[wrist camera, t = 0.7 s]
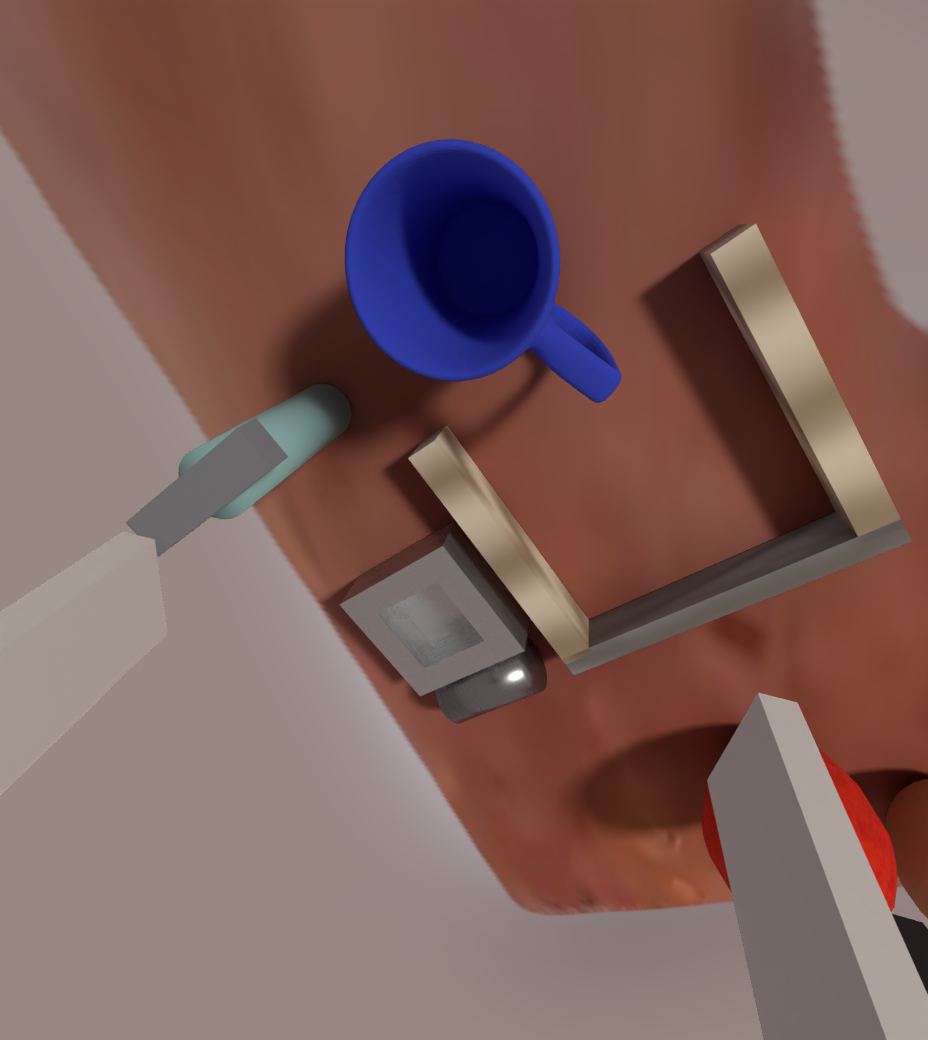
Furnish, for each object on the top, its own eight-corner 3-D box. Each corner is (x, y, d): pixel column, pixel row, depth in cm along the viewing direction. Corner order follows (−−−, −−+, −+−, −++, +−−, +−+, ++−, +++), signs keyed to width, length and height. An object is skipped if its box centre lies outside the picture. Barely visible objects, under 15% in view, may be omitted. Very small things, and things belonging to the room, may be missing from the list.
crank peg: (267, 422, 36) (113, 510, 25) (353, 350, 33) (224, 413, 21) (301, 463, 37) (169, 568, 25) (389, 397, 34) (283, 483, 22)
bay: (421, 441, 35) (408, 458, 32) (739, 224, 26) (755, 223, 24) (574, 646, 39) (573, 675, 37) (884, 515, 31) (911, 541, 29)
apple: (678, 782, 43) (707, 960, 33) (701, 687, 39) (744, 857, 28) (818, 804, 42) (897, 1000, 31) (859, 706, 37) (968, 896, 26)
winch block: (358, 576, 40) (336, 609, 37) (454, 520, 37) (440, 550, 33) (462, 699, 44) (451, 739, 40) (560, 658, 40) (557, 698, 37)
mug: (559, 411, 32) (548, 476, 23) (387, 281, 31) (307, 299, 22) (661, 286, 28) (694, 308, 20) (470, 131, 27) (413, 80, 18)
